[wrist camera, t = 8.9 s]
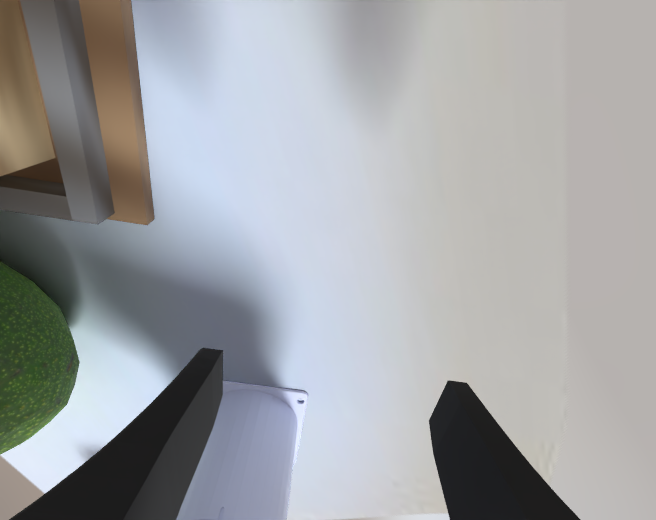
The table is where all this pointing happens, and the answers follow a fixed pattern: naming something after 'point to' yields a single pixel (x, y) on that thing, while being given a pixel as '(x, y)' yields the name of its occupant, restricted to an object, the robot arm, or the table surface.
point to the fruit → (31, 359)
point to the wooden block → (19, 98)
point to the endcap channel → (85, 115)
